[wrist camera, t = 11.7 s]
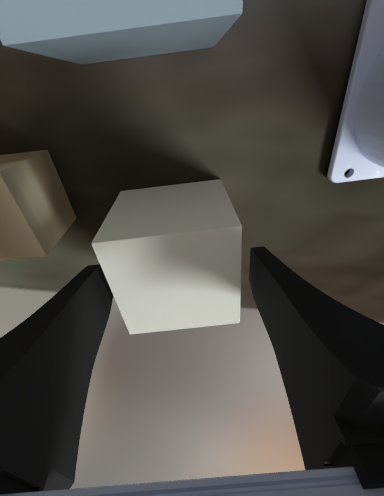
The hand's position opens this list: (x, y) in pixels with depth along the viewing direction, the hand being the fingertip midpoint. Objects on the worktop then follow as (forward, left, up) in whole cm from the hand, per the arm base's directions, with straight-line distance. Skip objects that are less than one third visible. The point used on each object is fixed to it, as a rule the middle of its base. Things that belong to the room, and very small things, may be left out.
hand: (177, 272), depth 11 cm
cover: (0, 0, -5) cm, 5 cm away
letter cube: (+8, -3, -5) cm, 10 cm away
